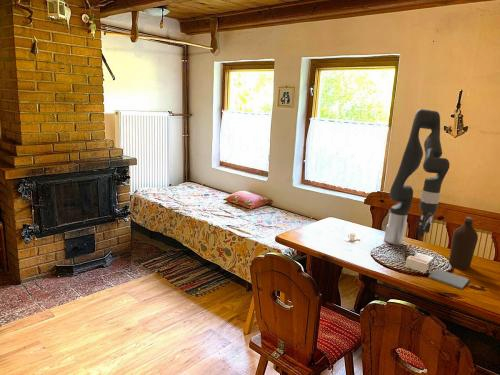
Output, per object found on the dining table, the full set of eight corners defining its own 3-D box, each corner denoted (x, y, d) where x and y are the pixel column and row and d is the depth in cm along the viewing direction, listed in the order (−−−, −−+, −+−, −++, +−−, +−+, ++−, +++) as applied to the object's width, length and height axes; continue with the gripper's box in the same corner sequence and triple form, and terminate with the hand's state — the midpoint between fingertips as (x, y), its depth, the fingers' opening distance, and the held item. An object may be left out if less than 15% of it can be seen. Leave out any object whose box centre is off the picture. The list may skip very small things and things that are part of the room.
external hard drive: (409, 261, 187) (416, 255, 196) (427, 267, 182) (433, 260, 191) (410, 258, 186) (417, 252, 196) (427, 264, 181) (434, 257, 191)
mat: (428, 277, 169) (428, 275, 169) (436, 270, 178) (436, 268, 178) (461, 289, 160) (462, 287, 160) (468, 280, 169) (469, 279, 169)
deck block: (405, 267, 179) (406, 257, 178) (408, 264, 182) (410, 255, 181) (424, 274, 173) (426, 263, 172) (427, 271, 176) (429, 261, 175)
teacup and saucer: (359, 239, 213) (360, 232, 212) (361, 244, 205) (362, 237, 204) (343, 237, 213) (344, 231, 212) (345, 242, 206) (346, 235, 205)
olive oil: (461, 271, 179) (472, 222, 173) (442, 262, 188) (452, 215, 182) (475, 268, 183) (487, 220, 177) (456, 259, 193) (466, 213, 187)
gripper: (426, 196, 177) (420, 229, 181) (415, 201, 167) (409, 235, 171) (442, 200, 172) (436, 233, 176) (433, 205, 162) (426, 240, 166)
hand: (423, 234), depth 173 cm, fingers open, 8 cm apart
